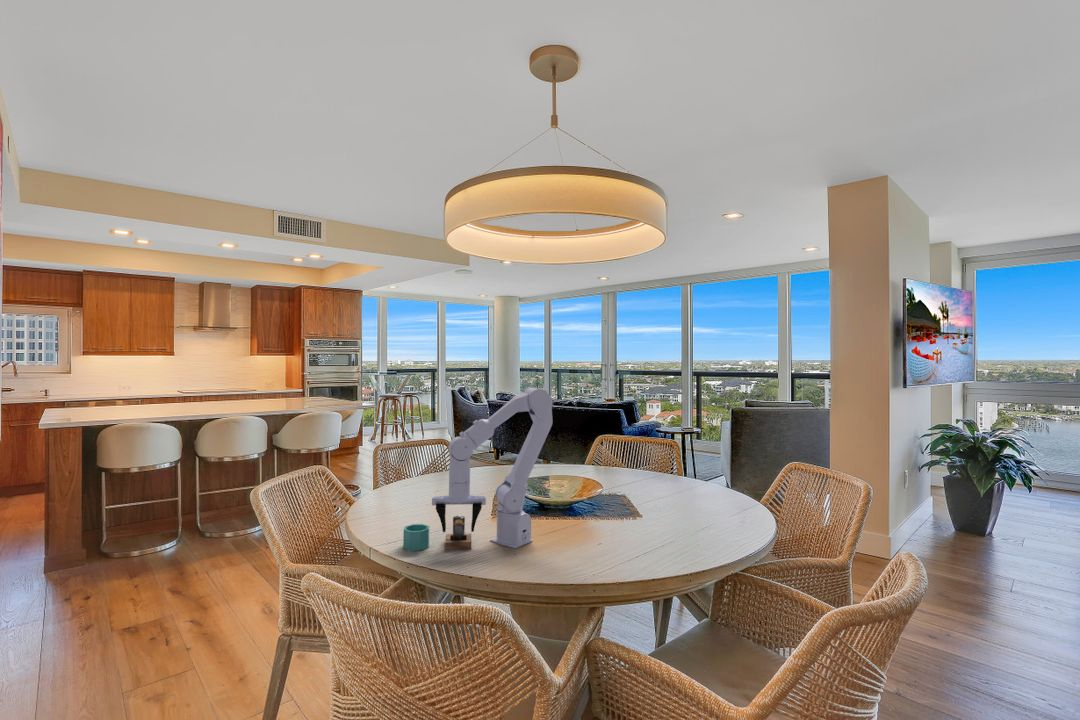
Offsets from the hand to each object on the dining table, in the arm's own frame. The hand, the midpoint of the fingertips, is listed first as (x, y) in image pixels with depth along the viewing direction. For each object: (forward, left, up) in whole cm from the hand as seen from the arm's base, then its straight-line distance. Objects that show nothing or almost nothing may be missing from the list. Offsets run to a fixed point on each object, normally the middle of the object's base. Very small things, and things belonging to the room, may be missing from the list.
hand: (458, 530), depth 147 cm
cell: (0, 0, -4) cm, 4 cm away
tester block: (0, 0, -4) cm, 4 cm away
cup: (+8, +8, -4) cm, 12 cm away
